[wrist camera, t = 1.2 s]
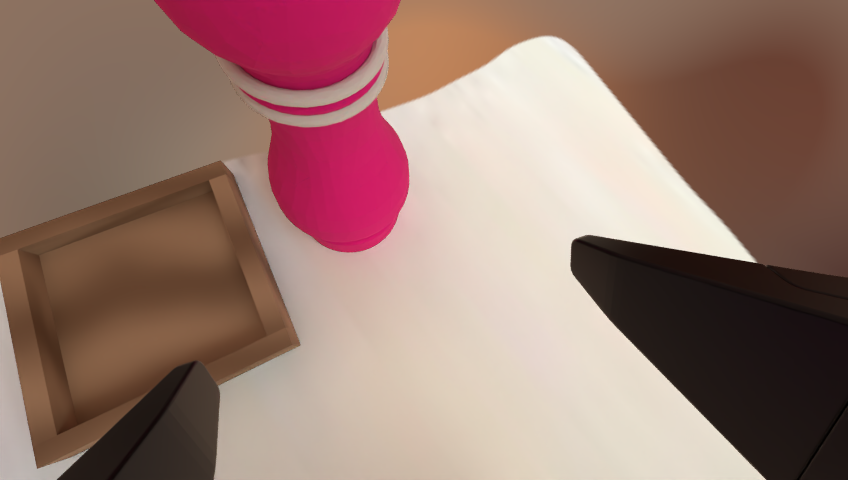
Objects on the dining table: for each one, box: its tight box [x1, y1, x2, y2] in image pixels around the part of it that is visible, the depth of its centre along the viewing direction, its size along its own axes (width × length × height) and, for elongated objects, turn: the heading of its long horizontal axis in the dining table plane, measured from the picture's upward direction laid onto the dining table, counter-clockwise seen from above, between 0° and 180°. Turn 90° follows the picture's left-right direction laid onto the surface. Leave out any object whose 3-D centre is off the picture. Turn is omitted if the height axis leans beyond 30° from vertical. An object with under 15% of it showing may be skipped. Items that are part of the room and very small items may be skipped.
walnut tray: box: [0, 161, 300, 469], centre depth 19 cm, size 12×12×2 cm
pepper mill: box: [154, 0, 409, 252], centre depth 13 cm, size 7×7×20 cm
